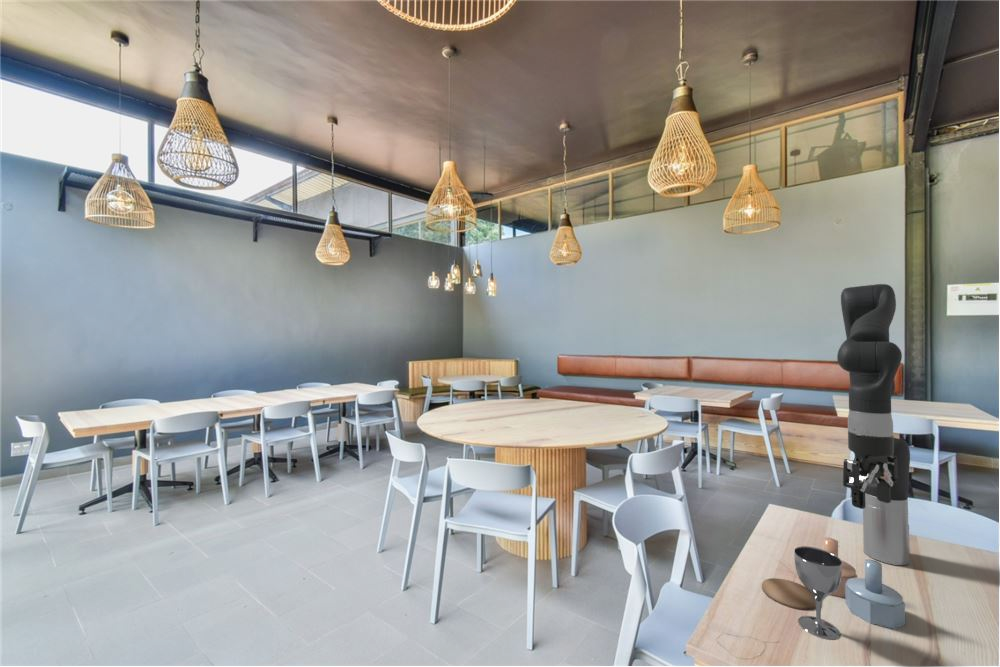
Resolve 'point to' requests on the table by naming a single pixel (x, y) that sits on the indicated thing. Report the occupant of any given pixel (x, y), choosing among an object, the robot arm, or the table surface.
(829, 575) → the wine glass
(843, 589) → the terracotta cloche
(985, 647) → the table surface
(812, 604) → the disc
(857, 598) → the slate cloche
